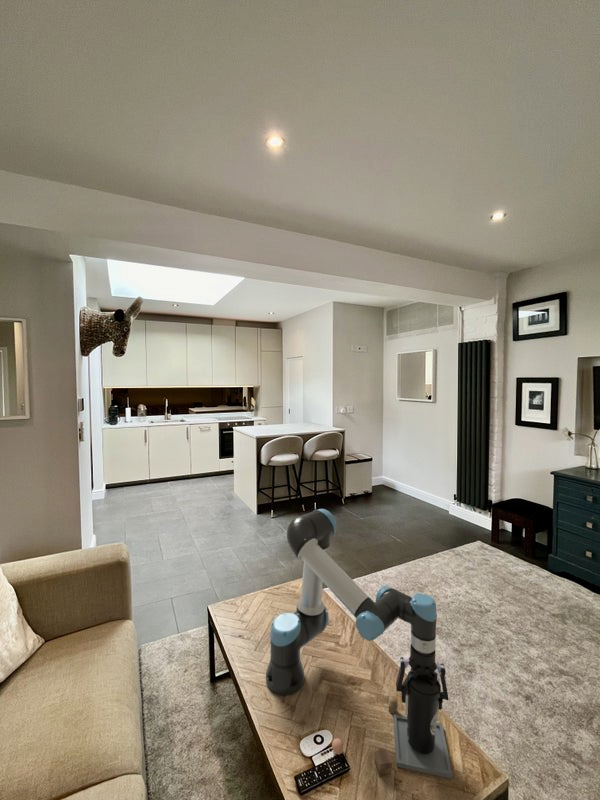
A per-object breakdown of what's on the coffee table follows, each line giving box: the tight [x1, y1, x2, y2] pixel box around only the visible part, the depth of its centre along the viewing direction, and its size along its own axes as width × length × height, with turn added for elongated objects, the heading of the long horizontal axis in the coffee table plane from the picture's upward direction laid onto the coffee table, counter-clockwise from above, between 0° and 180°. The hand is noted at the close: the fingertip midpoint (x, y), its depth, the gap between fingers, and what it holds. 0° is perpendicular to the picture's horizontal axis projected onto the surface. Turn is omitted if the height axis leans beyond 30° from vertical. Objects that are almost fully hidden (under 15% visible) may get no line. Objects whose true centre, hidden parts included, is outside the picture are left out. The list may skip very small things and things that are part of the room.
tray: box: [392, 714, 454, 780], centre depth 112 cm, size 16×16×1 cm
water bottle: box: [406, 669, 442, 754], centre depth 112 cm, size 10×10×23 cm
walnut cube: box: [374, 748, 393, 778], centre depth 105 cm, size 4×4×4 cm
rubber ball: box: [331, 737, 344, 755], centre depth 110 cm, size 4×4×4 cm
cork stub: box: [388, 695, 399, 716], centre depth 124 cm, size 3×3×4 cm
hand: (421, 714), depth 112 cm, fingers closed on water bottle, 8 cm apart
